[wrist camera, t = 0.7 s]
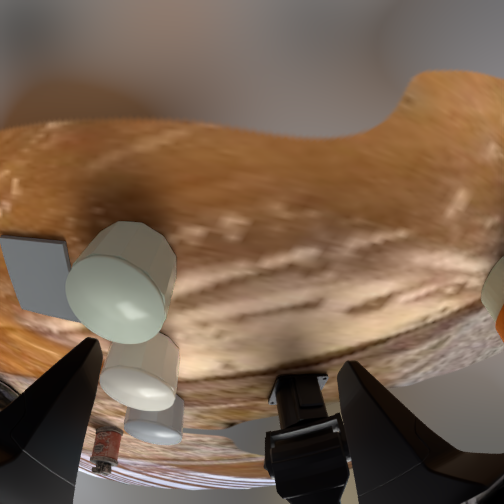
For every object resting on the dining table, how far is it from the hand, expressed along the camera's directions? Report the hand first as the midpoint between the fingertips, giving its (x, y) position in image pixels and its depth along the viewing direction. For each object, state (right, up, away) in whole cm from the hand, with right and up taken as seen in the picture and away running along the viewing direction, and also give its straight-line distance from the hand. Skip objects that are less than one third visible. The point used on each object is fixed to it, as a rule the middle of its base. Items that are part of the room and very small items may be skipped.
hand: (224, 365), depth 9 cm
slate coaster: (-20, +1, +12) cm, 24 cm away
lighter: (-26, -30, +29) cm, 49 cm away
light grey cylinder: (-12, -16, +23) cm, 30 cm away
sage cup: (-9, +3, +12) cm, 15 cm away
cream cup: (-10, -7, +18) cm, 21 cm away
